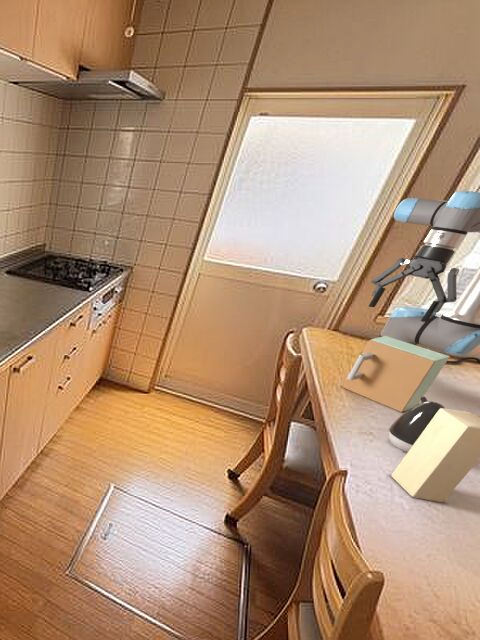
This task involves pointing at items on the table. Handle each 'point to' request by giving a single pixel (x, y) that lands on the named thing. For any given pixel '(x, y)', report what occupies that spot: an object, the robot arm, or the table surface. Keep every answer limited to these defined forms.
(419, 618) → the table surface
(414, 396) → the box
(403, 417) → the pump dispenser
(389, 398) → the cooler door
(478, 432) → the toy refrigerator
